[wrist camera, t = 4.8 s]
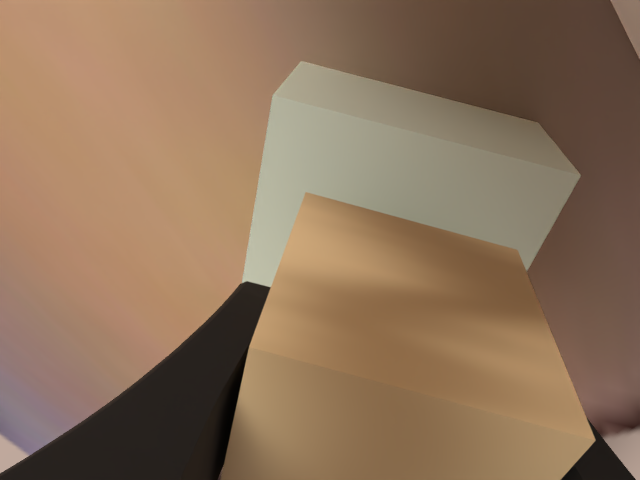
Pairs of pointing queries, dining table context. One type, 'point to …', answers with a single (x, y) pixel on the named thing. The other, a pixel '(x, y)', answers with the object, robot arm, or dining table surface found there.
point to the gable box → (629, 19)
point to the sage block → (403, 164)
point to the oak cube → (401, 360)
